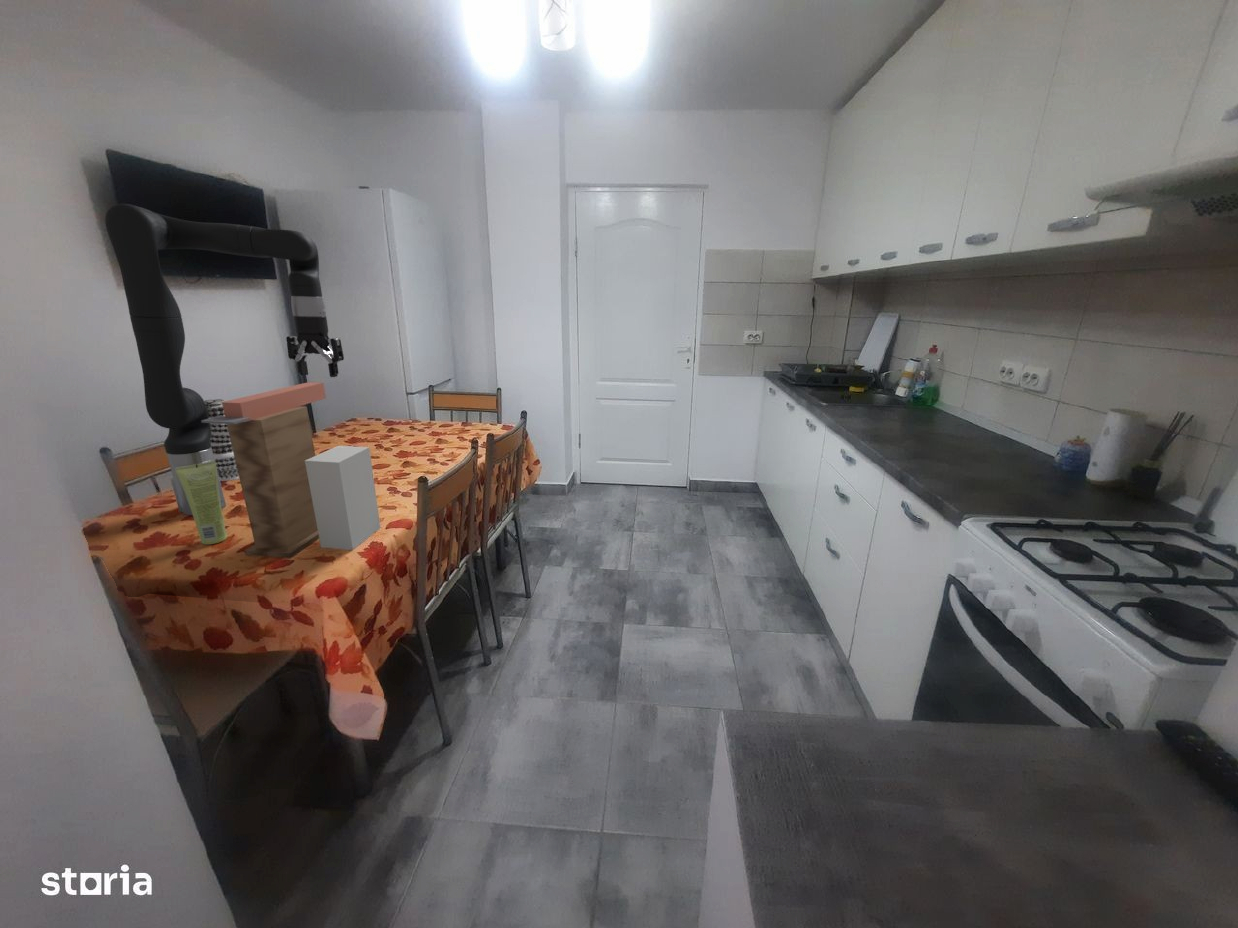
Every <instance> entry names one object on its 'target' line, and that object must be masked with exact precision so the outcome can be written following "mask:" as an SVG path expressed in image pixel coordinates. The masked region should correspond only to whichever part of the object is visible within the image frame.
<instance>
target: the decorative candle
mask: <svg viewBox="0 0 1238 928" xmlns="http://www.w3.org/2000/svg"><path fill="white" fill-rule="evenodd" d="M225 401H226V400H224V399H221V398H219V399H217V398H216V399H206V400H204V402H205V404H206V407H207V412H208V416H209V418H213V417H217V416H225V414H224V410H223V405H222V402H225ZM210 427H211V439H210V443H211V447H212V451H213V455H214V459H215V461H216V467H217V471H218V475H219V479H220V482H228V481H233V480H234V481H235V480H238V479H239V480H240V478H239V474H238V470H237V466H236V461H235V457H234V453H233V449H232V444H231V440H230V436H229V432H228V427H227V424H219V423H210Z"/></svg>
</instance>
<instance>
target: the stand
mask: <svg viewBox="0 0 1238 928" xmlns="http://www.w3.org/2000/svg"><path fill="white" fill-rule="evenodd" d="M227 427H228V432H229V436H230V440H231V444H232V449H233V453H234V457H235V461H236V466H237V470H238V474H239V483H240V486H241V491H242V494H243V498H244V504H245V509H246V512H247V515H248V520H249V525H250V530H251V533H252V537H253V541H254V542H253V543H254V544H253V545H250V546H249V547H247V548H246V549H244V553H245V554H244V555H246V556H254V557H255V556H258V557H269V558H270V557H271V558H284V559H285V558H286V559H292V558H293V557H295V556H296V555H298V554H299V553H300V552H302V551H303V550H304V549H306V548H307V547H309V546H310V545H312V544H313V543H315V542H316V541H318V540H320V539H319V534H318V528H317V523H316V518H315V512H314V507H313V502H312V496H311V491H310V486H309V480H308V475H307V470H306V464H305V460H307V459H310V458H312V457H314V456H316V451H315V447H314V446H315V445H314V440H313V435H312V429H311V428H312V427H311V423H310V418H309V412H308V407H307V406H304V405H301V406H298V407H295V408H291V409H288V410H284V411H281V412H277V413H274V414H270V415H267V416H264V417H260V418H257V419H253V420H250V421H246V422H241V423H237V424H227Z"/></svg>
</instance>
